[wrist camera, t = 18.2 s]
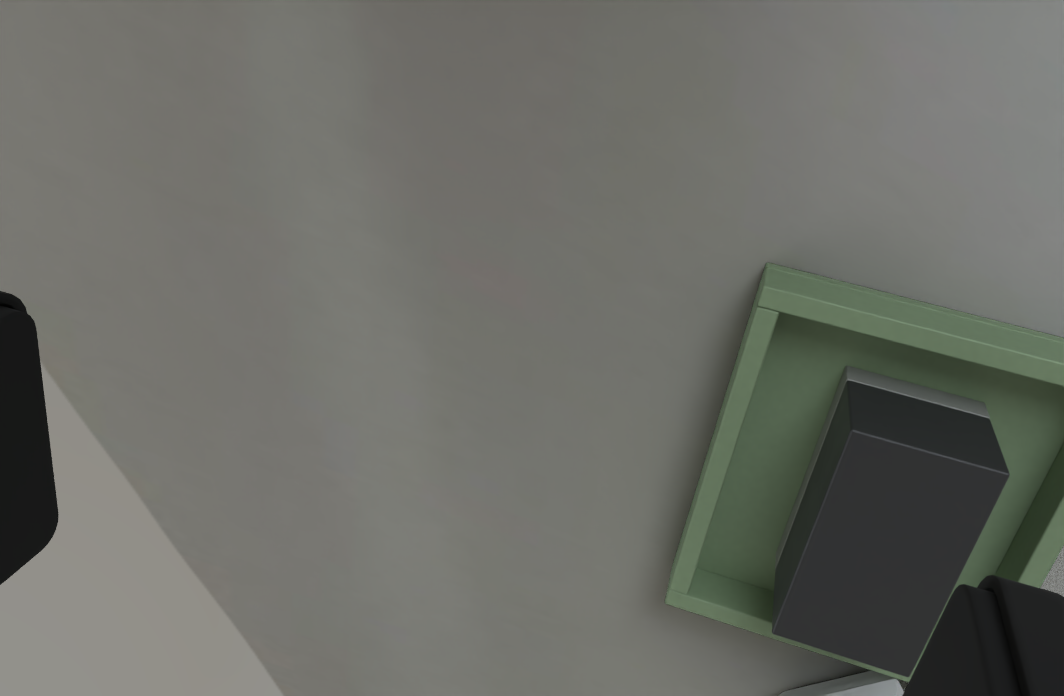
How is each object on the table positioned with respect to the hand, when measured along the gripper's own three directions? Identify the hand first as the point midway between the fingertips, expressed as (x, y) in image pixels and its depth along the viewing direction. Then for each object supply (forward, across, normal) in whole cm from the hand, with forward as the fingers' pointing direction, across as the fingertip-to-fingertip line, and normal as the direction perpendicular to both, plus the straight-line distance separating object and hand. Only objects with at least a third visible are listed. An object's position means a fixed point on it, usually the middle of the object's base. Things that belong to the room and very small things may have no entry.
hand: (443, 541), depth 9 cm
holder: (+26, -10, +13) cm, 31 cm away
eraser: (+25, -10, +13) cm, 30 cm away
